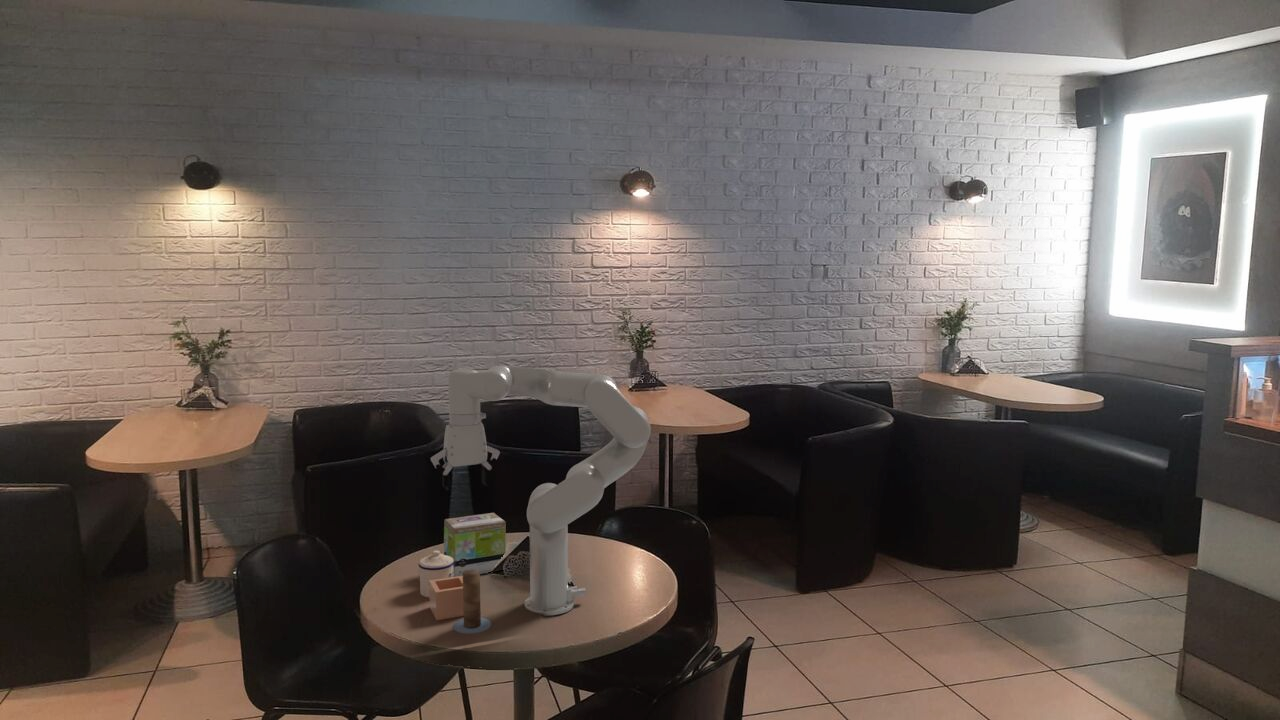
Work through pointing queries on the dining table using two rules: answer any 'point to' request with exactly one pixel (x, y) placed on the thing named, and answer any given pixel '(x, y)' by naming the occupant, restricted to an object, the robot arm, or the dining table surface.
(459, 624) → the slate coaster
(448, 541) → the tea box
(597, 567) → the dining table surface
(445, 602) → the terracotta cup
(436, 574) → the teacup with lid
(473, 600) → the walnut pin
